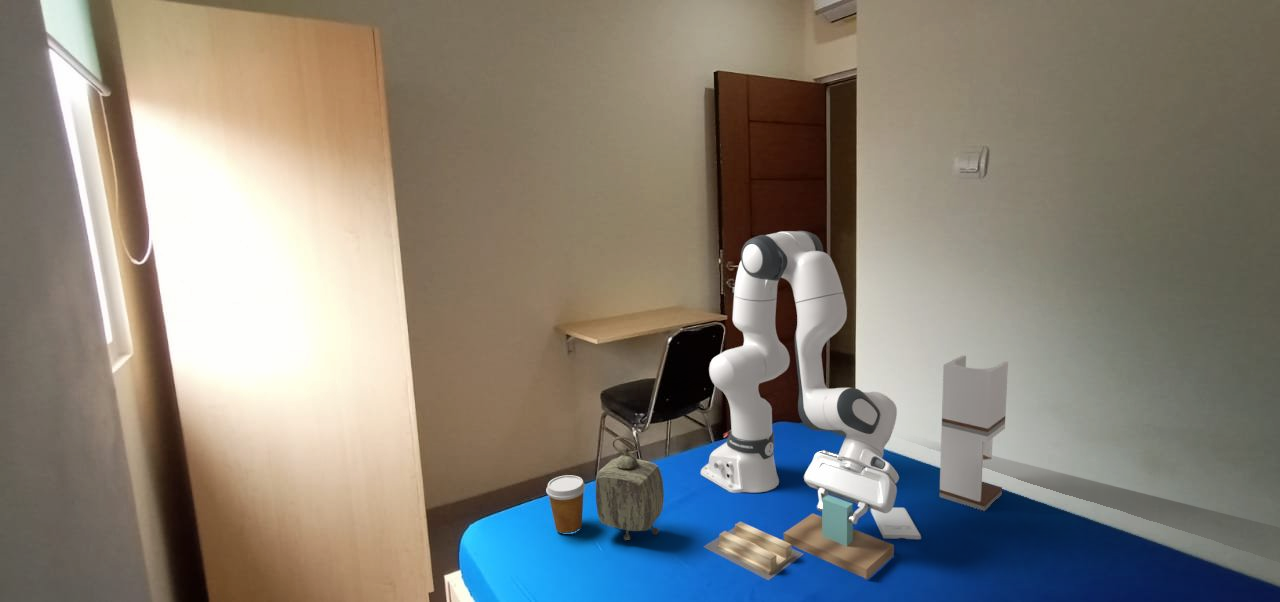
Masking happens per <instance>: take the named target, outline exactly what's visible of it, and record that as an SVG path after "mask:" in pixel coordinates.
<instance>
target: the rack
mask: <svg viewBox="0 0 1280 602" xmlns="http://www.w3.org/2000/svg"><path fill="white" fill-rule="evenodd" d="M734 528H735V535H733V534H731V533H729V532H728V531H726V530H723V531H722V532H721V533H719V535H718V537H719V540H720V545H718V546H717V547H718V550H720V551H722V552H724V553H726V554H728V555H730V556H732V557H734V558H736V559H738V560H740V561H742V562H744V563H746V564H748V565H750V566H752V567H754V568H756V569H758V570H760V571H762V572H764V573H766V574H768V575H770V574H771V573H772V572H774V571H775V570H776V569H778V568H779V567H780V566H782V565H783V564H785V563H786V562H787V561H789V560H790V559H791V558H793V557H794V553H792V550H791V548H792V545H791V544H790V543H787V542H785V541H784V539H780V538H778V537H776V536H774V535H771V534H769V533H767V532H765V531H763V530H760V529H758V528H756V527H754V526H751V525H749V524H747V523H745V522H742V521H739V522H737V523H735V524H734Z"/></svg>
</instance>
